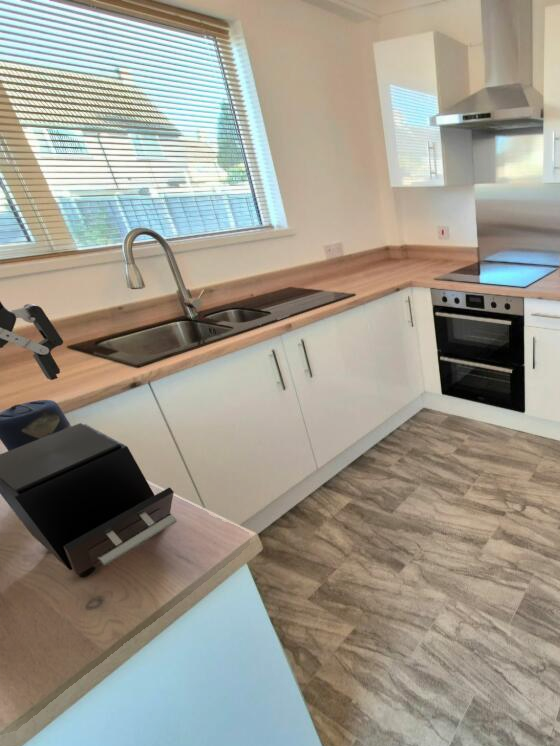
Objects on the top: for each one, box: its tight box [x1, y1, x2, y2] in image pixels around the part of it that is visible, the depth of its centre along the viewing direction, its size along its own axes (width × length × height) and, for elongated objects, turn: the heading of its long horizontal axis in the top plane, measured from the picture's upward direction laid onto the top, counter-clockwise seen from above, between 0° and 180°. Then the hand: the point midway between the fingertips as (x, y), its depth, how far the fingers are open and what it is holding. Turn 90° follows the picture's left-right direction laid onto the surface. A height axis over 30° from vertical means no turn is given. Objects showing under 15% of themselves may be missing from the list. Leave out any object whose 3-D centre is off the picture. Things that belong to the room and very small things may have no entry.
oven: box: [0, 422, 156, 579], centre depth 70 cm, size 16×13×18 cm
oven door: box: [64, 486, 177, 576], centre depth 65 cm, size 5×13×14 cm
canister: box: [0, 399, 72, 451], centre depth 86 cm, size 10×10×18 cm
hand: (11, 391), depth 59 cm, fingers open, 8 cm apart
